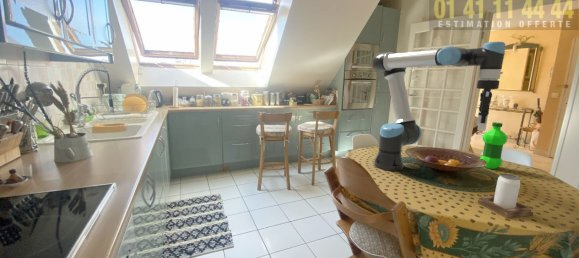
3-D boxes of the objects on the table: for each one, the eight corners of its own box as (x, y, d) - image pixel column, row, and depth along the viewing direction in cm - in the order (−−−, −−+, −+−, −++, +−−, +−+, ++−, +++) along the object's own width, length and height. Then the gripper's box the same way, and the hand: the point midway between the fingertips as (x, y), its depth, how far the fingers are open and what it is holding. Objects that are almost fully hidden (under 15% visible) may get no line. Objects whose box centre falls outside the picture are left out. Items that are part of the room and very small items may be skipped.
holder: (506, 218, 91) (507, 211, 90) (477, 202, 102) (478, 196, 101) (532, 215, 93) (534, 209, 92) (501, 200, 104) (502, 194, 103)
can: (489, 203, 99) (494, 174, 97) (500, 200, 101) (505, 172, 99) (507, 211, 93) (514, 180, 91) (519, 208, 95) (525, 178, 93)
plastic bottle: (503, 171, 135) (512, 125, 130) (479, 168, 140) (486, 123, 135) (499, 166, 144) (508, 122, 138) (477, 163, 149) (484, 120, 144)
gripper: (503, 80, 98) (493, 134, 102) (497, 79, 118) (489, 124, 122) (478, 79, 102) (470, 131, 106) (477, 79, 122) (470, 122, 127)
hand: (480, 128), depth 114 cm, fingers open, 13 cm apart
